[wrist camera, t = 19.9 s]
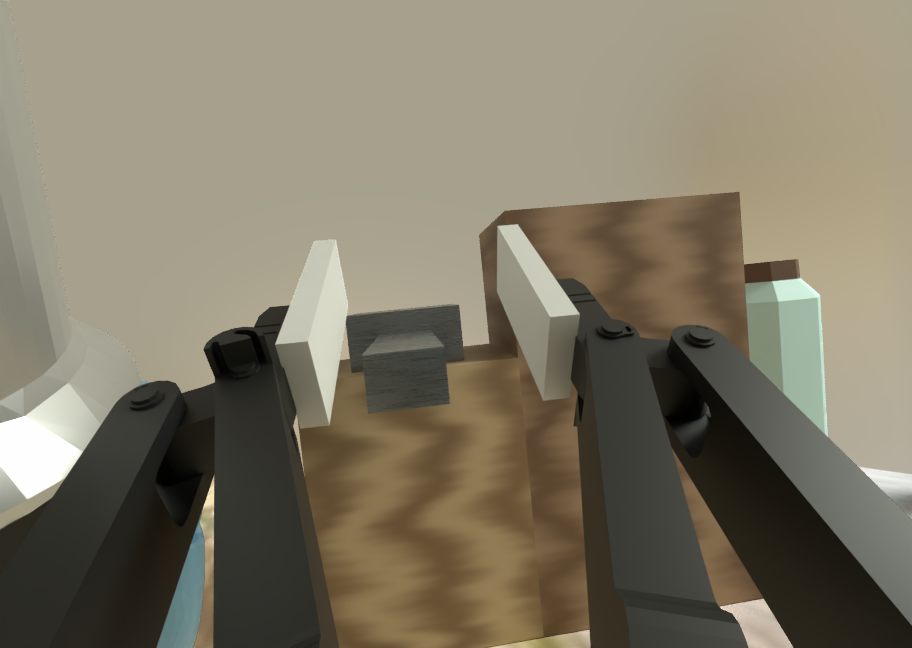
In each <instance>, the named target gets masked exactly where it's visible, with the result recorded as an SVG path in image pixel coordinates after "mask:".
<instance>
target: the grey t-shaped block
mask: <svg viewBox="0 0 912 648" xmlns="http://www.w3.org/2000/svg"><path fill="white" fill-rule="evenodd" d="M346 328H347V337H348V346H349V354H350V363H351V372H352V373H357V372H364V381H365V390H366V399H367V408H368V414H372V413H380V412H388V411H397V410H405V409H413V408H421V407H429V406H438V405H446V404H450V397H449V387H448V377H447V367H446V362H454V361H463V360H464V351H463V341H462V331H461V321H460V310H459V305H451V304H448V305H438V306H428V307H419V308H408V309H398V310H389V311H378V312H369V313H358V314H353V315H349V316H347V317H346Z"/></svg>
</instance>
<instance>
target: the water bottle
mask: <svg viewBox="0 0 912 648" xmlns="http://www.w3.org/2000/svg"><path fill="white" fill-rule="evenodd" d="M744 275H745V291H746V307H747V323H748V339H749V355H750V361H751V362H752V363H753V364H754V365H755V366H756V367H757V368H758V369H759V370H760V371H761V372H762V373H763V374H764V375H765V376H766V377H767V378H768V379H769V380H770V381H771V382H772V383H773V384H774V385H775V386H776V387H777V388H778V389H779V390H780V391H781V392H782V393H783V394H784V395H785V396H787V397H788V398H789V399H790V400H791V401H792V402H793V403H794V404H795V405H796V406H797V407H798V408H799V409H800V410H801V411H802V412H803V413H804V414H805V415H806V416H807V417H808V418H809V419H810V420H811V421H812V422H813V423H814V424H815V425H816V426H817V427H818V428H819V429H820V430H821V431H822V432H823V433H824V434H825V435H826V436H827V437H828V433H827V415H826V396H825V379H824V378H825V377H824V359H823V340H822V321H821V304H820V303H821V302H820V295H819V294H818V293H817V292H816V291H815V290H814V289H812V288H811V287H810V286H809V285H808V284H807V283H805V282H804V281H803V280H802V279H801V278H800V273H799V264H798V260H797V259H794V260H785V261H774V262H764V263H755V264H746V265H744Z"/></svg>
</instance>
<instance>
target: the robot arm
mask: <svg viewBox="0 0 912 648" xmlns="http://www.w3.org/2000/svg"><path fill="white" fill-rule="evenodd" d="M497 293H498V295H499V298H500V300H501V302H502V305H503V307H504V309H505V312H506V314H507V316H508V319H509V321H510V324H511V326H512V328H513V331H514V333H515V335H516V338H517V340H518V342H519V345H520V347H521V349H522V352H523V354H524V356H525V359H526V361H527V364H528V366H529V368H530V371H531V373H532V375H533V378H534V380H535V382H536V385H537V387H538V389H539V392H540V394H541V396H542V399H543V401H546V400H555V399H564V398H570V392H571V383H573V385H574V387H575V388H576V390H577V392H578V394H577V401H576V409H575V416H574V424H573V426H576V427H577V432H578V448H579V464H580V480H581V497H582V513H583V529H584V545H585V561H586V578H587V594H588V610H589V626H590V642H591V648H748V645H747V642H746V639H745V637H744V634H743V632H742V629H741V627H740V624H739V623H738V621H737V620H736V619H735V617H734V616H733V614H732V613H729V612H727V611H724V610H722V609H721V608H720V607H719V606H718V604H717V602H716V600H715V597H714V594H713V591H712V587H711V584H710V580H709V577H708V573H707V570H706V566H705V563H704V559H703V556H702V552H701V549H700V545H699V542H698V538H697V535H696V531H695V528H694V524H693V521H692V517H691V514H690V510H689V507H688V503H687V500H686V496H685V493H684V489H683V486H682V482H681V479H680V475H679V472H678V468H677V465H676V461H675V458H674V454H673V451H674V452H675V454H676V456H677V457H678V459H679V460H680V462H681V464H682V465H683V467H684V469H685V470H686V472H687V474H688V475H689V477H690V478H691V480H692V482H693V483H694V485H695V487H696V488H697V490H698V492H699V493H700V495H701V496H702V498H703V500H704V501H705V503H706V505H707V506H708V508H709V510H710V511H711V513H712V515H713V516H714V518H715V519H716V521H717V523H718V524H719V526H720V528H721V529H722V531H723V533H724V534H725V536H726V537H727V539H728V541H729V542H730V544H731V546H732V547H733V549H734V551H735V552H736V554H737V555H738V557H739V559H740V560H741V562H742V564H743V565H744V567H745V569H746V570H747V572H748V573H749V575H750V577H751V578H752V580H753V582H754V583H755V585H756V587H757V588H758V590H759V592H760V593H761V595H762V596H763V598H764V600H765V601H766V603H767V605H768V606H769V608H770V610H771V611H772V613H773V614H774V616H775V618H776V619H777V621H778V623H779V624H780V626H781V628H782V629H783V631H784V632H785V634H786V636H787V637H788V639H789V641H790V642H791V644H792V646H793V647H794V648H912V519H911V518H910V517H909V516H908V515H907V514H906V513H905V512H904V511H903V510H902V509H901V508H900V507H899V506H898V505H896V504H895V503H894V502H893V501H892V500H891V499H890V498H889V497H888V496H887V495H886V494H885V493H884V492H883V491H882V490H881V489H880V488H879V487H878V486H877V485H876V484H875V483H874V482H873V481H872V480H871V479H870V478H869V477H868V476H867V475H866V474H865V473H864V472H863V471H862V470H861V469H860V468H859V467H858V466H857V465H856V464H855V463H854V462H853V461H852V460H851V459H850V458H849V457H847V455H846V454H845V453H844V452H843V451H842V450H840V449H839V448H838V447H837V446H836V445H835V444H834V443H833V442H832V441H831V440H830V439H829V438H828V437H827V436H826V435H825V434H824V433H823V432H822V431H821V430H820V429H819V428H818V427H817V426H816V425H815V424H814V423H813V422H812V421H811V420H810V419H809V418H808V417H807V416H806V415H805V414H804V413H803V412H802V411H801V410H800V409H799V408H798V407H797V406H796V405H795V404H794V403H793V402H792V401H791V400H790V399H789V398H788V397H787V396H785V395H784V394H783V393H782V392H781V391H780V390H779V389H778V388H777V387H776V386H775V385H774V384H773V383H772V382H771V381H770V380H769V379H768V378H767V377H766V376H765V375H764V374H763V373H762V372H761V371H760V370H759V369H758V368H757V367H756V366H755V365H754V364H753V363H752V362H751V361H750V360H749V359H748V358H747V357H746V356H745V355H744V354H743V353H742V352H741V351H740V350H739V349H738V348H737V347H736V346H735V345H734V344H733V343H732V342H731V341H729V340H728V339H727V338H726V337H725V336H724V335H722V334H721V333H720V332H718V331H716V330H713V329H711V328H709V327H706V326H702V325H683V326H678V327H677V328H675V329H674V330H673V331H672V334H671V338H670V340H660V339H649V338H642V337H640V335H639V333H638V331H637V330H636V328H635V327H633V326H632V325H630V324H629V323H626V322H624V321H621V320H616V319H611V317H610V316H609V315H608V314H607V312H606V311H605V310H604V309H603V307H602V306H601V305H600V304H599V302H598V301H596V299H595V297H594V296H593V295H592V294H591V292H590V291H589V290H588V289H587V287H586V286H585V285H584V284H582V283H581V282H579V281H577V280H575V279H573V278H567V279H555V278H554V276H553V275H552V273H551V272H550V270H549V269H548V267H547V266H546V265H545V263H544V262H543V260H542V259H541V257H540V256H539V254H538V253H537V252H536V250H535V249H534V247H533V246H532V244H531V243H530V241H529V240H528V239H527V237H526V236H525V234H524V233H523V231H522V230H521V228H520V227H519V226H518V224H516V225H503V226H497ZM347 311H348V301H347V297H346V291H345V285H344V281H343V275H342V270H341V265H340V259H339V254H338V249H337V243H336V240H335V239H333V240H320V241H314V243H313V246H312V248H311V251H310V253H309V256H308V259H307V261H306V264H305V267H304V269H303V272H302V275H301V277H300V280H299V283H298V285H297V288H296V290H295V293H294V296H293V298H292V301H291V304H290V305H289V306H279V307H270V308H269V309H267V310H266V311H265V312H264V313H263V314H261V315H260V316H259V317H258V320H257V322H256V324H255V326H254V327H255V328H254V327H241V328H234V329H230V330H228V331H225V332H222V333H220V334H218V335H216V336H214V337H213V338H212V339H211V340H209V341H208V342H207V343H206V345H205V347H204V352H205V354H206V357H207V359H208V362H209V364H210V367H211V369H212V371H213V374H214V376H215V383H213V384H210V385H207V386H205V387H201V388H198V389H195V390H191V391H188V392H185V393H181V391H180V389H179V387H178V386H177V385H176V383H173V382H170V381H155V382H151V383H148V382H140V376H139V372H138V368H137V365H136V362H135V361H134V359H133V358H132V356H131V355H130V353H129V351H127V349H126V348H125V347H124V346H123V345H122V344H121V343H120V342H118V341H117V340H116V339H114V338H113V337H111V336H110V335H108V334H106V333H105V332H103V331H100V330H98V329H96V328H94V327H92V326H90V325H87V324H85V323H83V322H80V321H78V320H76V319H74V318H71V317H70V314H69V309H68V304H67V299H66V294H65V289H64V283H63V278H62V273H61V267H60V263H59V257H58V253H57V247H56V241H55V237H54V231H53V226H52V221H51V216H50V210H49V205H48V200H47V195H46V190H45V185H44V179H43V174H42V169H41V164H40V158H39V154H38V148H37V143H36V138H35V132H34V127H33V122H32V117H31V112H30V107H29V101H28V96H27V91H26V86H25V80H24V75H23V70H22V65H21V60H20V54H19V50H18V44H17V39H16V34H15V28H14V24H13V18H12V14H11V8H10V3H9V0H0V648H193V646H194V644H195V640H196V637H197V633H198V629H199V624H200V618H201V611H202V602H203V590H204V578H205V540H204V536H203V532H202V528H201V525H200V523H199V522H200V519H201V515H202V509H203V506H204V503H205V500H206V497H207V494H208V491H209V488H210V485H211V482H212V479H213V476H214V475H215V476H214V641H213V648H339V643H338V638H337V633H336V628H335V623H334V618H333V614H332V609H331V604H330V599H329V594H328V589H327V584H326V579H325V574H324V569H323V565H322V560H321V555H320V550H319V545H318V540H317V535H316V530H315V525H314V520H313V516H312V511H311V506H310V501H309V496H308V491H307V486H306V481H305V476H304V472H303V467H302V462H301V457H300V452H299V447H298V442H297V438H296V435H295V432H294V428H293V424H294V420H295V416H296V415H297V418H298V422H299V425H300V428H301V429H302V428H311V427H320V426H328V425H330V419H331V412H332V406H333V400H334V393H335V387H336V380H337V374H338V368H339V361H340V354H341V349H342V342H343V336H344V330H345V323H346V317H347ZM672 449H673V451H672ZM214 473H215V474H214Z"/></svg>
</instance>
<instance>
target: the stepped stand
mask: <svg viewBox="0 0 912 648" xmlns="http://www.w3.org/2000/svg"><path fill="white" fill-rule="evenodd" d="M516 224H518V226H519V227H520V228H521V230H522V231H523V233H524V234H525V236H526V237H527V239H528V240H529V241H530V243H531V244H532V246H533V247H534V249H535V250H536V252H537V253H538V254H539V256H540V257H541V259H542V260H543V262H544V263H545V265H546V266H547V267H548V269H549V270H550V272H551V273H552V275H553V276H554V278H555V279H567V278H573V279H575V280H577V281H579V282H581V283H582V284H584V285H585V286H586V287H587V289H588V290H589V291H590V292H591V294H592V295H593V296H594V297H595V299H596V301H598V302H599V304H600V305H601V306H602V307H603V309H604V310H605V311H606V312H607V314H608V315H609V316H610V317H611V319H616V320H621V321H624V322H626V323H629V324H630V325H632V326H633V327H635V328H636V330H637V331H638V333H639V335H640V337H642V338H649V339H660V340H670V338H671V334H672V331H673V330H674V329H675V328H677V327H678V326H683V325H702V326H706V327H709V328H711V329H713V330H716V331H718V332H720V333H721V334H722V335H724V336H725V337H726V338H727V339H728V340H729V341H731V342H732V343H733V344H734V345H735V346H736V347H737V348H738V349H739V350H740V351H741V352H742V353H743V354H744V355H745V356H746V357H747V358H748V359H749V360H750V355H749V339H748V323H747V307H746V291H745V275H744V260H743V243H742V228H741V211H740V195H739V192H734V193H723V194H722V193H721V194H709V195H697V196H684V197H672V198H659V199H647V200H634V201H623V202H610V203H598V204H585V205H572V206H560V207H548V208H535V209H523V210H511V211H504V212H503V213H502V214H501V215H500V216H499V217H498V218H497V219H496V220H495V221H494V222H492V223H491V224H490V225H489V226H488V227H487V228H486V229H485V230H484V231H483V232H482V233H481V234H480V235H479V238H480V249H481V259H482V270H483V280H484V291H485V301H486V312H487V322H488V333H489V342H490V344H483V345H474V346H465V347H463V351H464V360H463V361H454V362H446V367H447V377H448V387H449V397H450V404H446V405H438V406H429V407H421V408H413V409H405V410H397V411H388V412H380V413H372V414H368V408H367V399H366V390H365V381H364V372H357V373H352V372H351V363H350V359H347V360H340V361H339V368H338V374H337V380H336V387H335V393H334V400H333V406H332V412H331V419H330V425H328V426H320V427H311V428H302V429H301V428H300V425H299V422H298V425H299V433H300V441H301V450H302V458H303V466H304V475H305V481H306V486H307V491H308V496H309V501H310V506H311V511H312V516H313V520H314V525H315V530H316V535H317V540H318V545H319V550H320V555H321V560H322V565H323V569H324V574H325V579H326V584H327V589H328V594H329V599H330V604H331V609H332V614H333V618H334V623H335V628H336V633H337V638H338V643H339V648H485V647H491V646H496V645H502V644H508V643H513V642H519V641H524V640H530V639H536V638H541V637H547V636H553V635H558V634H564V633H569V632H575V631H581V630H586V629H590V626H589V610H588V594H587V578H586V561H585V545H584V529H583V513H582V497H581V480H580V464H579V448H578V432H577V427H576V426H573V424H574V416H575V409H576V401H577V394H578V392H577V390H576V388H575V387H574V385H573V383H571V392H570V398H564V399H555V400H546V401H543V399H542V396H541V394H540V392H539V389H538V387H537V385H536V382H535V380H534V378H533V375H532V373H531V371H530V368H529V366H528V364H527V361H526V359H525V356H524V354H523V352H522V349H521V347H520V345H519V342H518V340H517V338H516V335H515V333H514V331H513V328H512V326H511V324H510V321H509V319H508V316H507V314H506V312H505V309H504V307H503V305H502V302H501V300H500V298H499V295H498V293H497V226H503V225H516ZM672 451H673V449H672ZM673 454H674V458H675V461H676V465H677V468H678V472H679V475H680V479H681V482H682V486H683V489H684V493H685V496H686V500H687V503H688V507H689V510H690V514H691V517H692V521H693V524H694V528H695V531H696V535H697V538H698V542H699V545H700V549H701V552H702V556H703V559H704V563H705V566H706V570H707V573H708V577H709V580H710V584H711V587H712V591H713V594H714V597H715V600H716V602H717V604H718V606H721V605H727V604H733V603H738V602H744V601H750V600H755V599H761V598H763V596H762V595H761V593H760V592H759V590H758V588H757V587H756V585H755V583H754V582H753V580H752V578H751V577H750V575H749V573H748V572H747V570H746V569H745V567H744V565H743V564H742V562H741V560H740V559H739V557H738V555H737V554H736V552H735V551H734V549H733V547H732V546H731V544H730V542H729V541H728V539H727V537H726V536H725V534H724V533H723V531H722V529H721V528H720V526H719V524H718V523H717V521H716V519H715V518H714V516H713V515H712V513H711V511H710V510H709V508H708V506H707V505H706V503H705V501H704V500H703V498H702V496H701V495H700V493H699V492H698V490H697V488H696V487H695V485H694V483H693V482H692V480H691V478H690V477H689V475H688V474H687V472H686V470H685V469H684V467H683V465H682V464H681V462H680V460H679V459H678V457H677V456H676V454H675V452H674V451H673Z"/></svg>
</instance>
